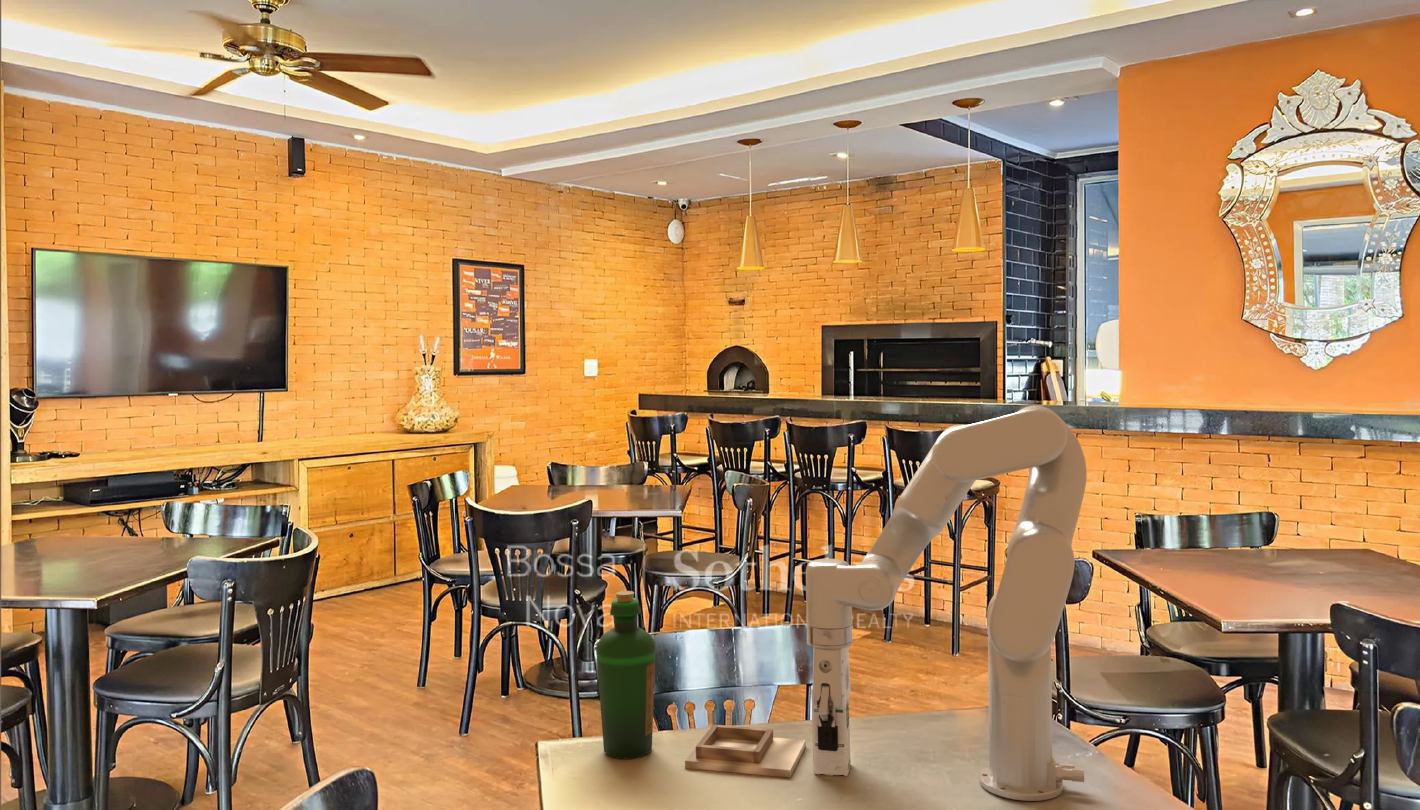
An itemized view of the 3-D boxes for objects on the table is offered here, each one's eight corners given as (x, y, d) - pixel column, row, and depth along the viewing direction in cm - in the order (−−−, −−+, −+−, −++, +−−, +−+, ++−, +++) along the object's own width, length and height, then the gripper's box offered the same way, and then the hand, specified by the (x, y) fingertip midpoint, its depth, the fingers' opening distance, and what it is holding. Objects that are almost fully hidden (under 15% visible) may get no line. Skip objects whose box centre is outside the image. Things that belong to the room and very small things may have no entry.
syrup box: (848, 776, 162) (847, 688, 161) (812, 774, 163) (810, 686, 162) (850, 763, 167) (849, 678, 167) (815, 761, 168) (814, 676, 168)
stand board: (805, 746, 175) (805, 728, 175) (790, 777, 162) (790, 758, 162) (707, 738, 180) (707, 721, 180) (684, 767, 167) (684, 749, 167)
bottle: (671, 749, 175) (667, 591, 174) (626, 767, 167) (622, 602, 167) (630, 736, 182) (627, 584, 182) (585, 752, 174) (581, 594, 174)
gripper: (844, 649, 155) (846, 764, 156) (858, 623, 172) (860, 727, 172) (797, 647, 157) (799, 760, 158) (815, 621, 174) (817, 723, 174)
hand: (831, 741), depth 165 cm, fingers closed on syrup box, 6 cm apart
